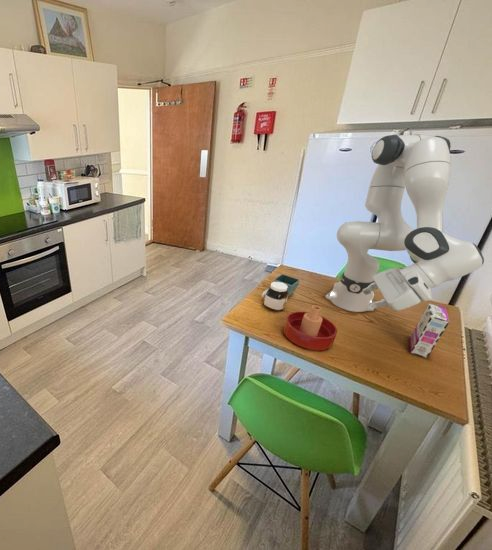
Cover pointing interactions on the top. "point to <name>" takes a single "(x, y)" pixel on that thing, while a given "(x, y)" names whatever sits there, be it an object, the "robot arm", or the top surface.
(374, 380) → the top surface
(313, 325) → the bottle
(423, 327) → the candy bar box
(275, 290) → the spread jar
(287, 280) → the flower pot
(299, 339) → the bowl
